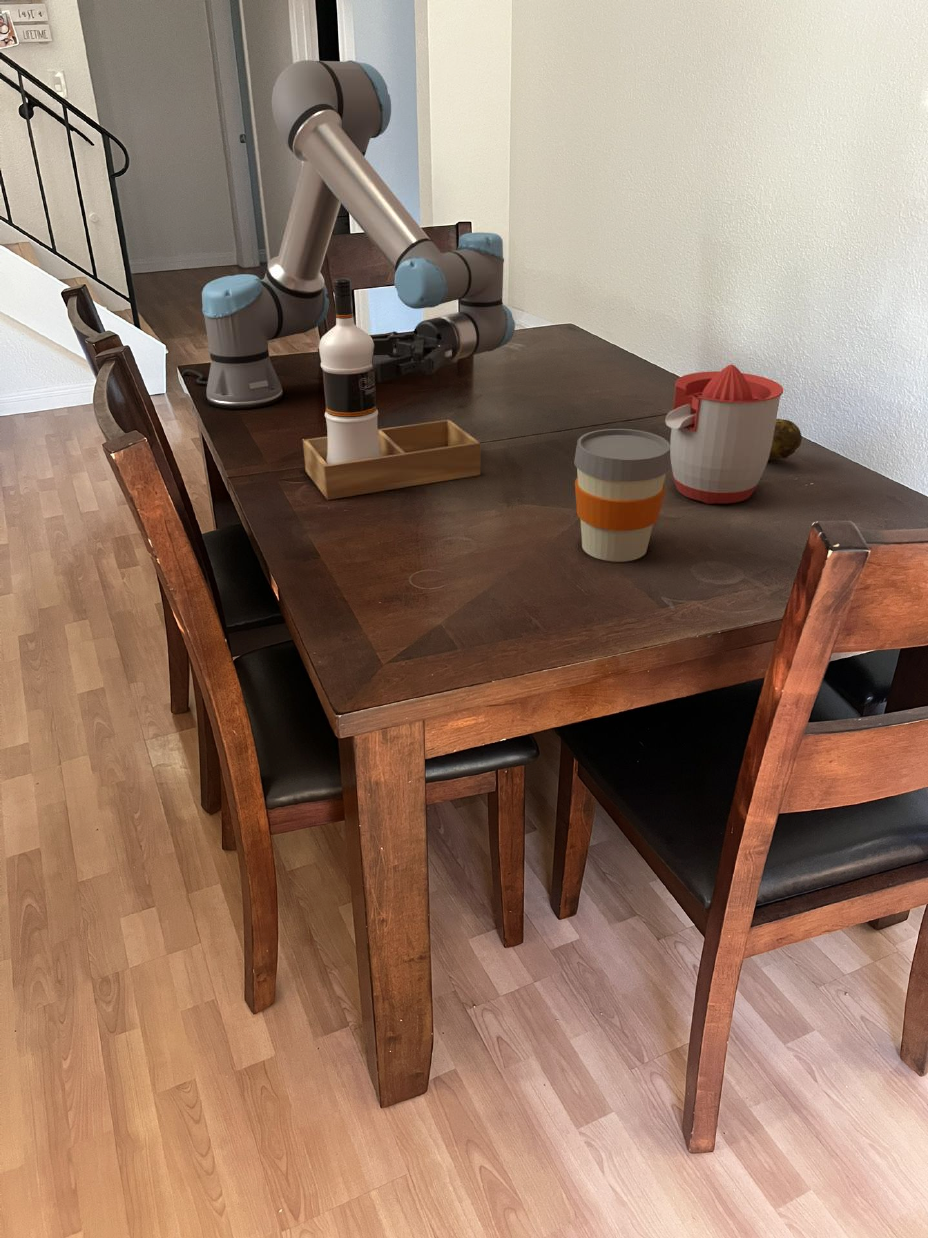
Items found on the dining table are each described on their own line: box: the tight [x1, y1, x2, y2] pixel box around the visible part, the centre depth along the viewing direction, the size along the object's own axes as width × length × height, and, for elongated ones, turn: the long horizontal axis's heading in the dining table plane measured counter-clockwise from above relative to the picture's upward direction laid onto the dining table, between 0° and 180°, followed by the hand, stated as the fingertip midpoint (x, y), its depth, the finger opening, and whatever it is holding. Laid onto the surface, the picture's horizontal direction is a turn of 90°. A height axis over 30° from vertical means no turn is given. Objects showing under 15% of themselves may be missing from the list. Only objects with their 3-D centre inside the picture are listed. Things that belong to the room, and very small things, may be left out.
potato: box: [768, 418, 803, 461], centre depth 152 cm, size 8×13×8 cm, turn 12°
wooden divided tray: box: [302, 419, 481, 501], centre depth 148 cm, size 13×26×6 cm, turn 113°
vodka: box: [318, 277, 383, 465], centre depth 139 cm, size 9×9×30 cm
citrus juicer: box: [664, 363, 784, 505], centre depth 136 cm, size 16×17×20 cm
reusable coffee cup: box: [573, 428, 671, 563], centre depth 121 cm, size 13×13×15 cm
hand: (348, 364), depth 138 cm, fingers open, 13 cm apart
